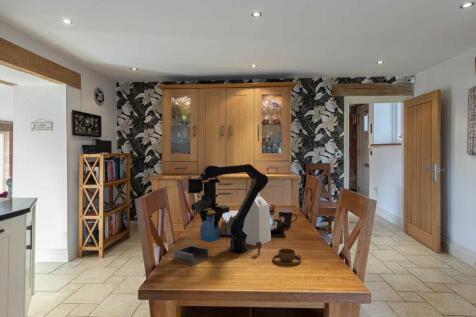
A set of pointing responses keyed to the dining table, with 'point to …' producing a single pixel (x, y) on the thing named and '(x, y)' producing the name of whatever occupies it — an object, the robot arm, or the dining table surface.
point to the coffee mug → (286, 218)
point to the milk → (258, 222)
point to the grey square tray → (191, 255)
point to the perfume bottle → (209, 229)
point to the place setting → (283, 256)
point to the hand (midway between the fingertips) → (210, 226)
